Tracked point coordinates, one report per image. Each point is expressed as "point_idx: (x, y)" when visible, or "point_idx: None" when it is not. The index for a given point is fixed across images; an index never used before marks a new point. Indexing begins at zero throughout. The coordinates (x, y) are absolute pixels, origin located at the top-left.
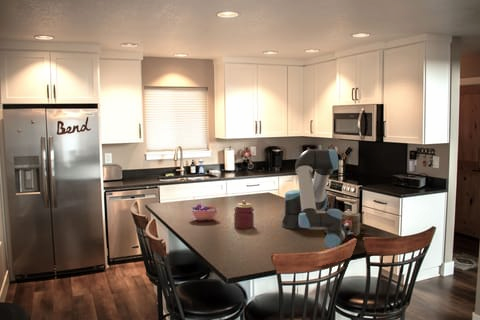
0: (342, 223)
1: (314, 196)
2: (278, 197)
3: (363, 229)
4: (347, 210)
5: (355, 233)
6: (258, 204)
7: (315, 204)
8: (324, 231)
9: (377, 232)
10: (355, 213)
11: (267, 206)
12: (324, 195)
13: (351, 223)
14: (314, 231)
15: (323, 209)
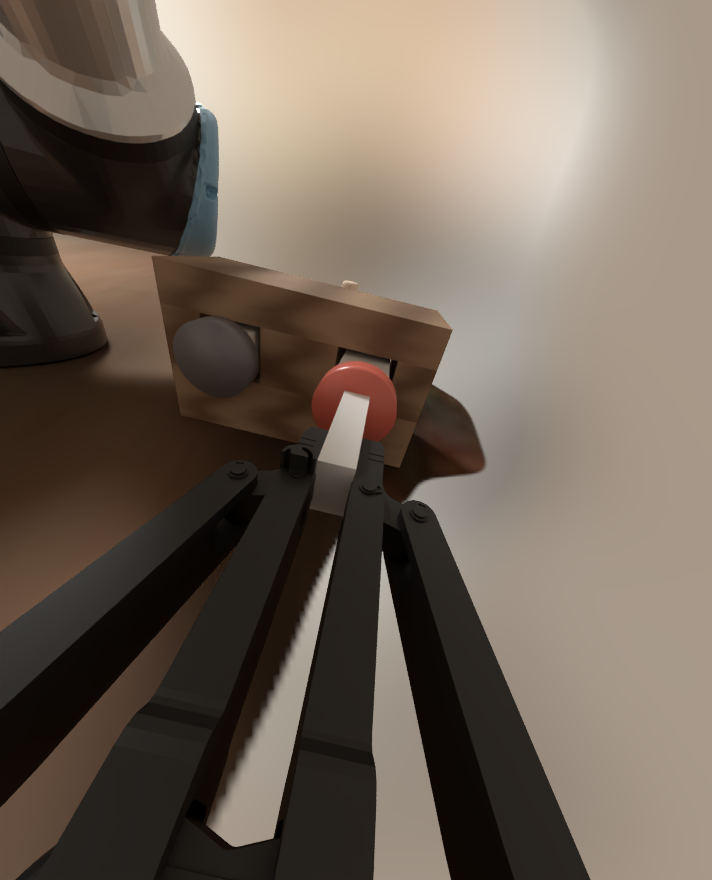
0: (308, 374)
1: (3, 5)
2: None
3: None
4: (345, 286)
5: (390, 452)
6: (79, 247)
7: (90, 167)
8: (180, 410)
9: (468, 419)
10: (407, 305)
11: (99, 255)
12: (171, 85)
13: (395, 401)
14: (106, 402)
15: (199, 250)
